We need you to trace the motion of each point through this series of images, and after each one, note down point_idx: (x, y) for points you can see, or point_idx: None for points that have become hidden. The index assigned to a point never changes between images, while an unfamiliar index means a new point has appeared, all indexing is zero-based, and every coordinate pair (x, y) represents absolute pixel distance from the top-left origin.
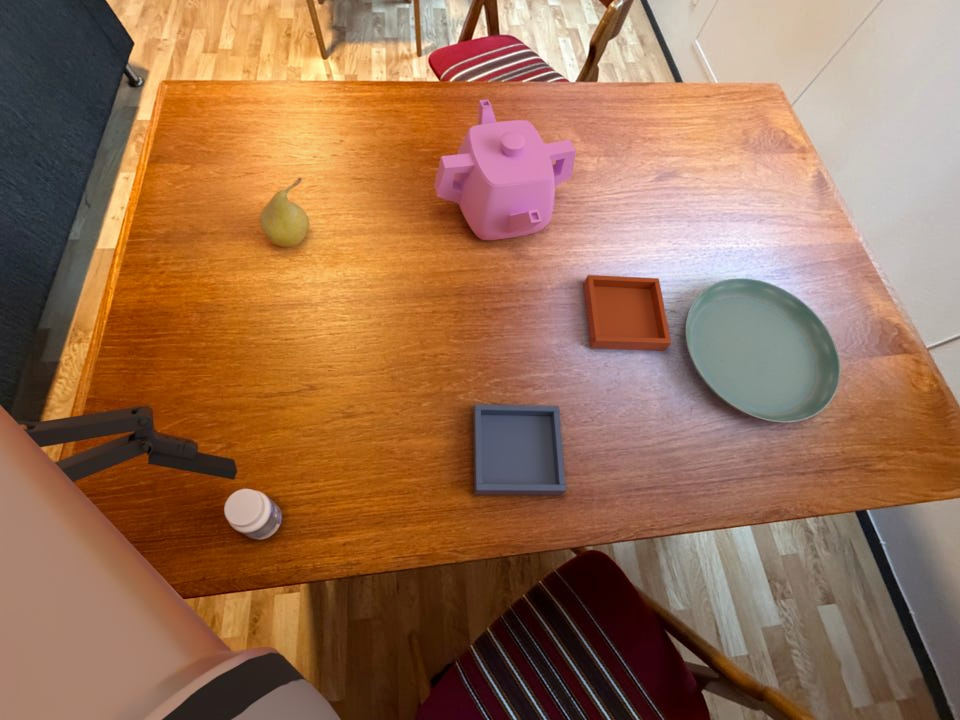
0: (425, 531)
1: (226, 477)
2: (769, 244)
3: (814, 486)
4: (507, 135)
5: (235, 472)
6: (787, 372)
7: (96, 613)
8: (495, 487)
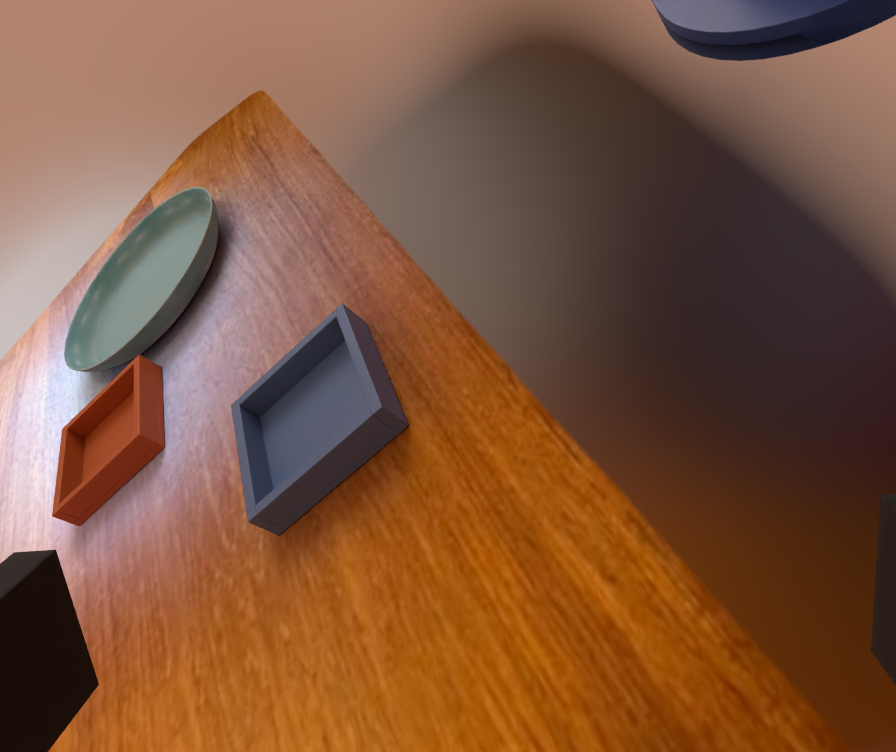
0: (503, 448)
1: (25, 570)
2: (45, 368)
3: (281, 149)
4: None
5: (16, 555)
6: (172, 248)
7: None
8: (367, 384)
